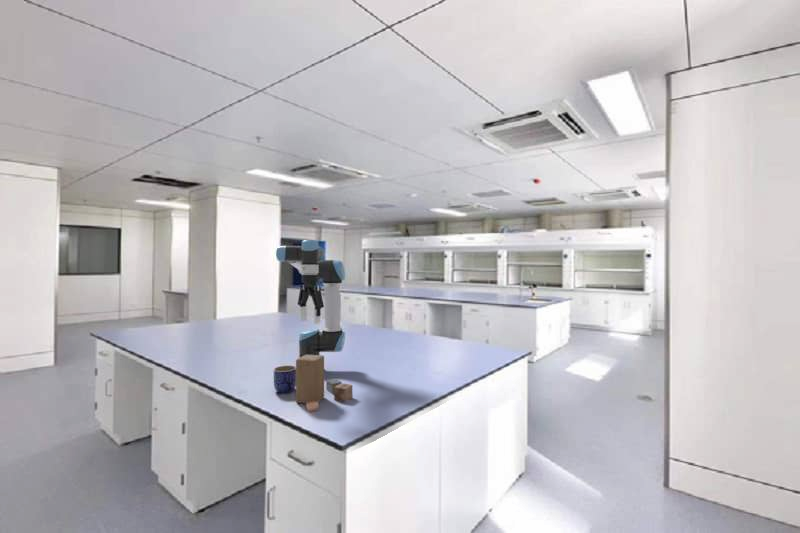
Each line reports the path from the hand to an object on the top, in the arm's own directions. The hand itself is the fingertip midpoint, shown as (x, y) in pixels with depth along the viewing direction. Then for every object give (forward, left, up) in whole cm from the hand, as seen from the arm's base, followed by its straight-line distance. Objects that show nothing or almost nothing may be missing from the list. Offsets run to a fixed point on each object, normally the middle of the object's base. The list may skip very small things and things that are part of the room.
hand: (310, 321), depth 170 cm
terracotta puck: (+10, -5, -36) cm, 38 cm away
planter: (-20, -2, -36) cm, 42 cm away
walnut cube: (+9, +12, -36) cm, 39 cm away
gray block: (-3, +15, -36) cm, 39 cm away
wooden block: (0, 0, -36) cm, 36 cm away
